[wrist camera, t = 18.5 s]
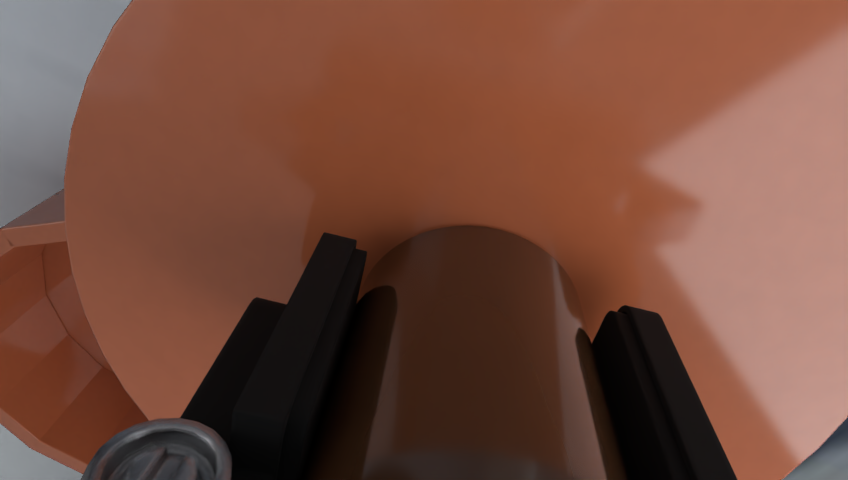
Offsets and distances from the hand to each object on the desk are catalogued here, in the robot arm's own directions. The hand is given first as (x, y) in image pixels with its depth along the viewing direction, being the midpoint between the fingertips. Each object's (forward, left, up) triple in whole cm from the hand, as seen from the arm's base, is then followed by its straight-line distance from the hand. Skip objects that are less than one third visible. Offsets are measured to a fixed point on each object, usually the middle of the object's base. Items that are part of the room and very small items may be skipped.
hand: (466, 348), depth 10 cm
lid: (0, 0, -1) cm, 1 cm away
